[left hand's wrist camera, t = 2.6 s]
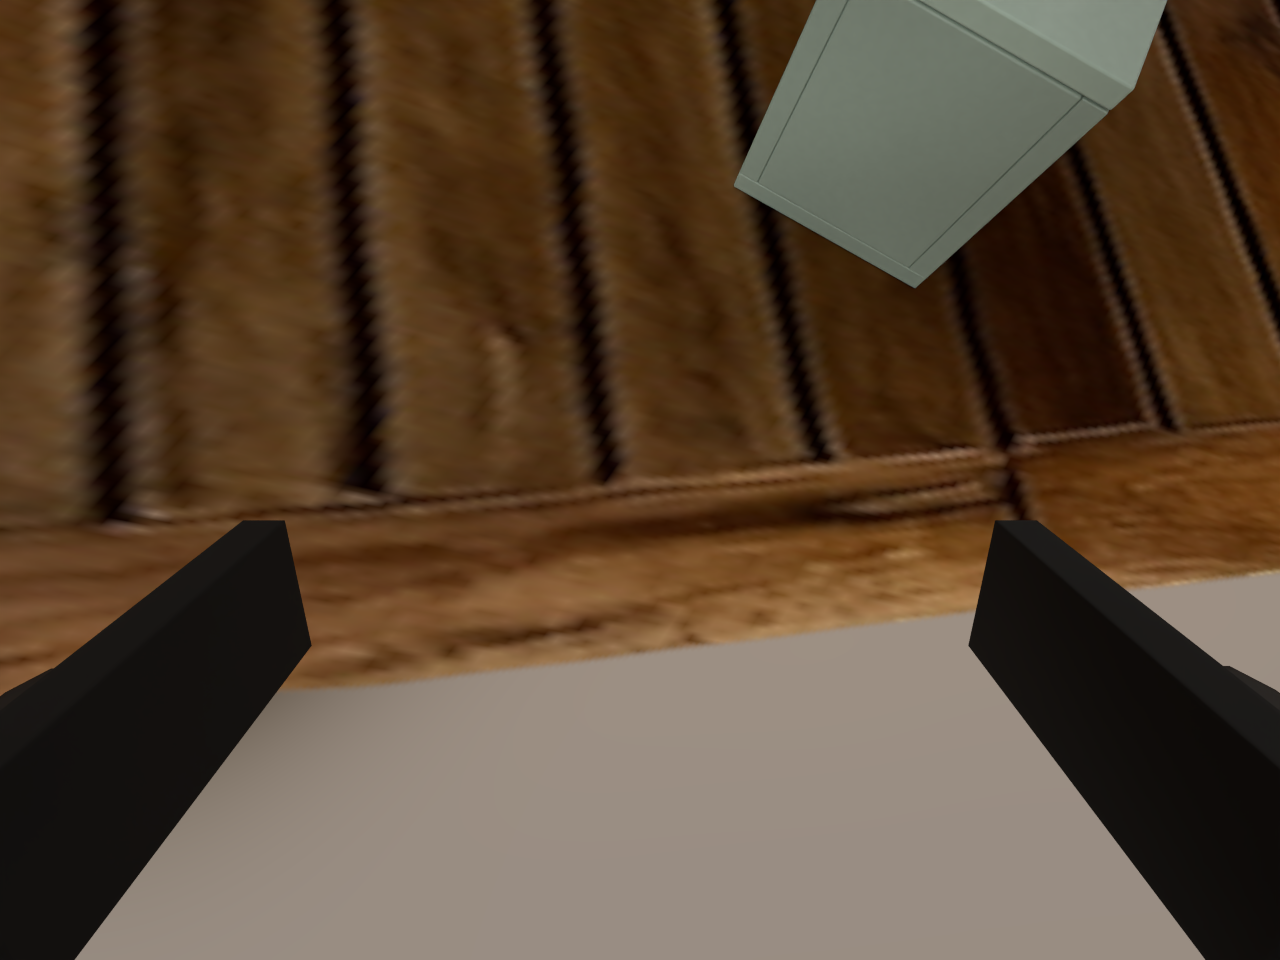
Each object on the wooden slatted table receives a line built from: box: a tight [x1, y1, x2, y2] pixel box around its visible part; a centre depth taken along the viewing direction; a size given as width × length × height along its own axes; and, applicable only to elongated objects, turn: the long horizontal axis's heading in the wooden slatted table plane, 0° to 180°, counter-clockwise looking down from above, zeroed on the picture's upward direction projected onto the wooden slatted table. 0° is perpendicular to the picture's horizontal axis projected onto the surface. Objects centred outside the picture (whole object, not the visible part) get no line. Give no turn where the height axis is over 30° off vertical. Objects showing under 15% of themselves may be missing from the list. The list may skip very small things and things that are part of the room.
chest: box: [734, 0, 1109, 288], centre depth 27 cm, size 17×9×10 cm, turn 153°
